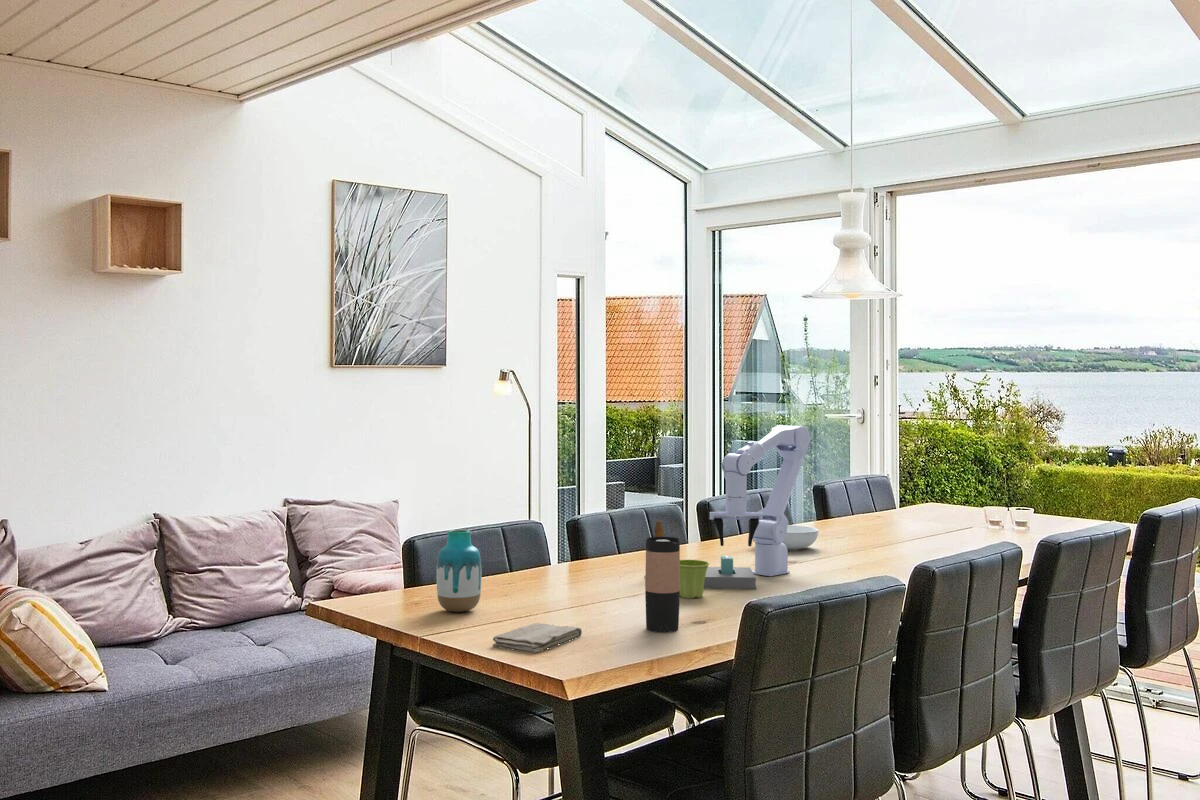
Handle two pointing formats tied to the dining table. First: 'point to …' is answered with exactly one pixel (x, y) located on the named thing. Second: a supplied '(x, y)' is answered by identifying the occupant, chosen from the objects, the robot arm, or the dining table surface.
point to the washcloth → (536, 637)
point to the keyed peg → (726, 565)
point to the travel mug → (662, 584)
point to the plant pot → (692, 578)
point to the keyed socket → (730, 578)
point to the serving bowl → (799, 537)
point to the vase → (458, 573)
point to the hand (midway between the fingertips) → (735, 545)
